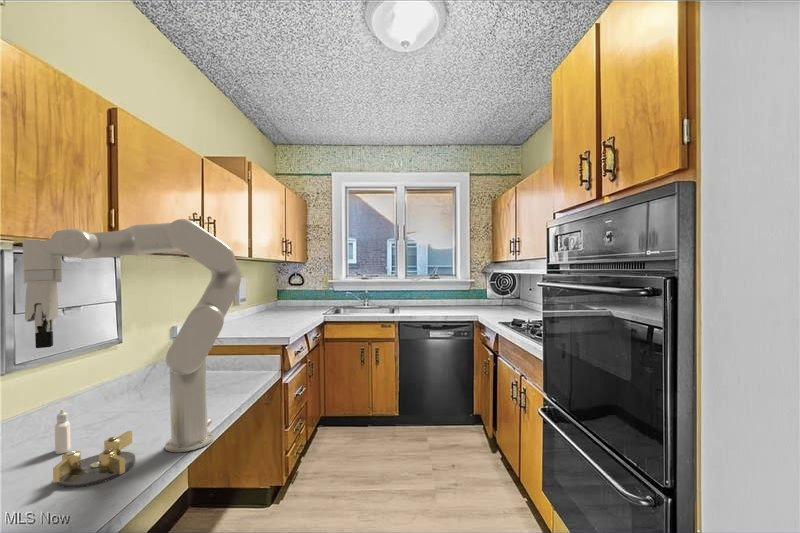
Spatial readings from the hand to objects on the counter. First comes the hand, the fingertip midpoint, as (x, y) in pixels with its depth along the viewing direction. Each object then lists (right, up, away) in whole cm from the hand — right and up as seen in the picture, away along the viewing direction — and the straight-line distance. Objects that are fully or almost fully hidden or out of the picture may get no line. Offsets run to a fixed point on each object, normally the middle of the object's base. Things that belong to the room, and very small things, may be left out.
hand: (44, 347), depth 106 cm
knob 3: (+22, -29, -6) cm, 38 cm away
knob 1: (+12, -30, -7) cm, 33 cm away
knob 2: (+16, -30, +6) cm, 34 cm away
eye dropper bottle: (-5, -33, +11) cm, 35 cm away
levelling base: (+16, -32, -2) cm, 35 cm away
